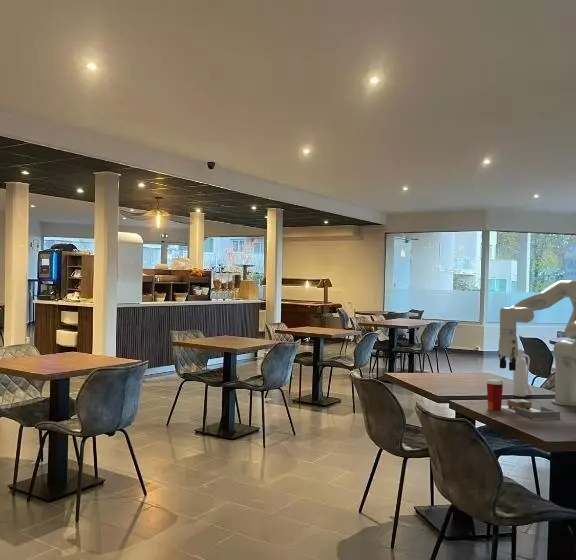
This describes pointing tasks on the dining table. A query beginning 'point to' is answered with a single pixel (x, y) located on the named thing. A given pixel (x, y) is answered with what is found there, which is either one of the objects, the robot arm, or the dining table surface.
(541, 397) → the dining table surface
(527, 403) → the white wood-edged tile
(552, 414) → the dock bay
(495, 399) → the paper cup
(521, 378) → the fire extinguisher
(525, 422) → the dining table surface
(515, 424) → the dining table surface
